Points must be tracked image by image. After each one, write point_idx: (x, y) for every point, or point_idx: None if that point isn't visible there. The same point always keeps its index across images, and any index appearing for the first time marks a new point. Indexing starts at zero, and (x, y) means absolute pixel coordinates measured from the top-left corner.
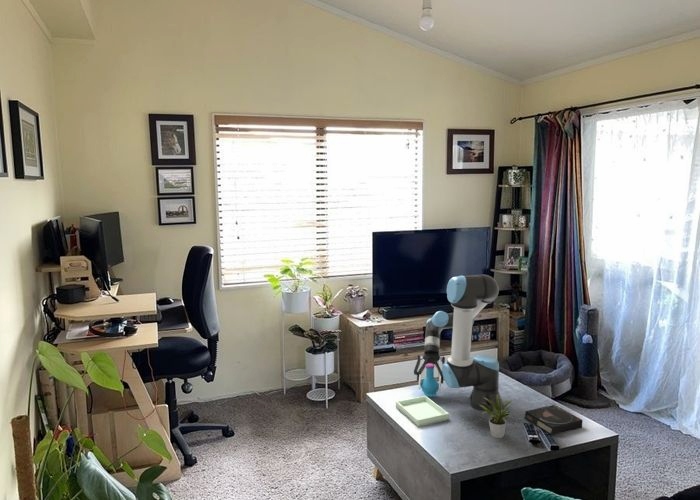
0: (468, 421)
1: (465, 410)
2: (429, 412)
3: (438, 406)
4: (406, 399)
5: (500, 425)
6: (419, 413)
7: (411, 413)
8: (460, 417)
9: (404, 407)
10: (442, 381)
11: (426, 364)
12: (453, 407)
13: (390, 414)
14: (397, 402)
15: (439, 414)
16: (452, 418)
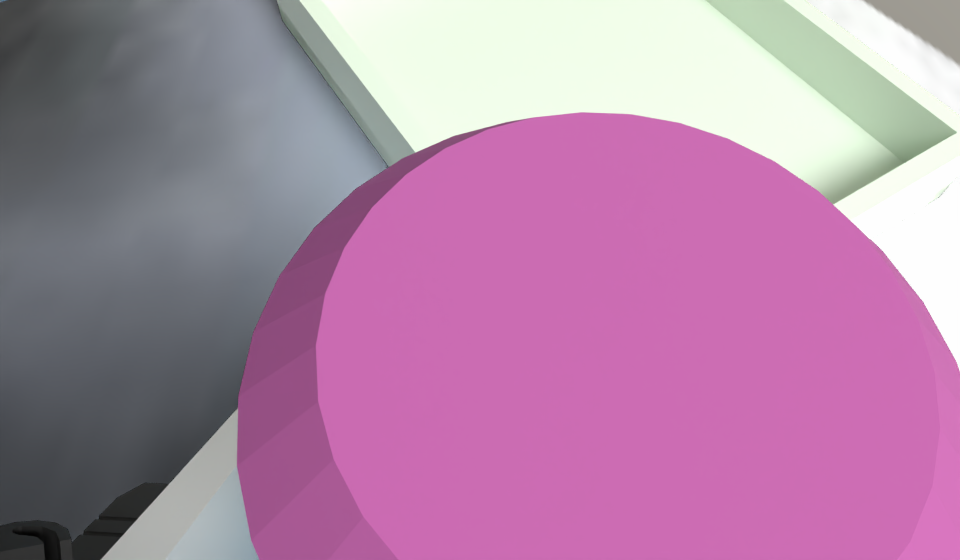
0: (80, 15)
1: (13, 220)
2: (490, 81)
3: (372, 73)
4: (863, 204)
5: None
6: (604, 52)
7: (694, 45)
8: (140, 71)
9: (822, 153)
10: (137, 496)
11: (918, 323)
12: (155, 280)
13: (920, 53)
14: (950, 113)
15: (373, 55)
16: (237, 46)
